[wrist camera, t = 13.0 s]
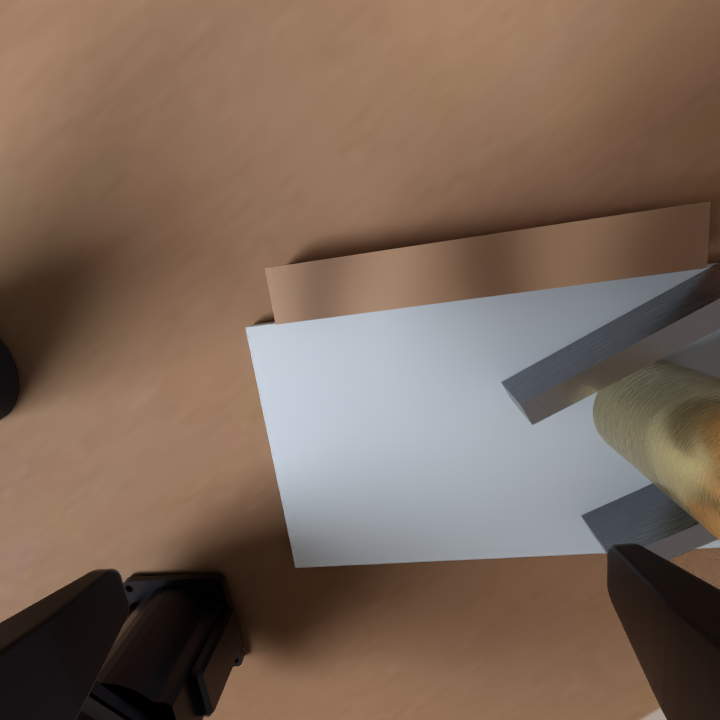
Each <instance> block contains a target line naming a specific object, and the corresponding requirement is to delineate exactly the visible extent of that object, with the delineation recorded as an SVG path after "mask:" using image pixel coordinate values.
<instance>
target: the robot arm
mask: <svg viewBox="0 0 720 720" xmlns="http://www.w3.org/2000/svg"><path fill="white" fill-rule="evenodd" d="M216 582H217V583H216ZM607 587H608V592H609V596H610V599H611V601H612V604H613V606H614V608H615V610H616V612H617V615H618V617H619V619H620V621H621V623H622V625H623V628H624V630H625V632H626V634H627V636H628V639H629V641H630V643H631V645H632V647H633V649H634V652H635V654H636V656H637V658H638V660H639V662H640V665H641V667H642V669H643V671H644V673H645V675H646V678H647V680H648V682H649V684H650V686H651V688H652V691H653V693H654V695H655V697H656V699H657V701H658V703H659V705H660V707H661V709H662V711H663V713H664V715H665V717H666V718H667V720H720V590H719V589H717V588H716V587H714V586H712V585H710V584H709V583H707V582H705V581H703V580H702V579H700V578H698V577H696V576H694V575H693V574H691V573H689V572H687V571H686V570H684V569H682V568H680V567H679V566H677V565H675V564H673V563H671V562H670V561H668V560H666V559H664V558H663V557H661V556H659V555H657V554H655V553H654V552H652V551H650V550H648V549H647V548H645V547H643V546H641V545H639V544H637V543H617V544H611V545H610V546H609V547H608V551H607ZM242 643H243V641H242V637H241V633H240V629H239V625H238V621H237V617H236V613H235V610H234V608H233V606H232V602H231V599H230V595H229V591H228V587H227V583H226V579H225V577H224V576H223V575H222V574H220V573H199V574H178V575H157V576H136V577H129V578H127V579H126V581H125V582H124V583H123V581H122V578H121V575H120V573H119V572H118V571H117V570H116V569H98V570H94V571H91V572H89V573H88V574H86V575H84V576H82V577H81V578H79V579H77V580H75V581H74V582H72V583H70V584H68V585H66V586H65V587H63V588H61V589H59V590H58V591H56V592H54V593H52V594H51V595H49V596H47V597H45V598H44V599H42V600H40V601H38V602H36V603H35V604H33V605H31V606H29V607H28V608H26V609H24V610H22V611H21V612H19V613H17V614H15V615H14V616H12V617H10V618H8V619H7V620H5V621H3V622H1V623H0V720H203V718H204V717H209V716H211V714H212V713H213V712H214V710H215V708H216V706H217V703H218V701H219V698H220V696H221V694H222V691H223V689H224V686H225V684H226V682H227V679H228V677H229V674H230V672H231V670H232V667H233V666H239V665H241V663H242V661H243V659H244V656H245V653H244V649H243V645H242Z"/></svg>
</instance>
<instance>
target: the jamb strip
mask: <svg viewBox="0 0 720 720" xmlns="http://www.w3.org/2000/svg"><path fill="white" fill-rule="evenodd" d="M710 206H711V201H707V202H701V203H694V204H687V205H681V206H674V207H668V208H661V209H654V210H648V211H641V212H635V213H628V214H621V215H615V216H608V217H601V218H595V219H588V220H582V221H575V222H568V223H562V224H555V225H548V226H542V227H535V228H529V229H522V230H515V231H509V232H502V233H496V234H489V235H482V236H476V237H469V238H462V239H456V240H449V241H443V242H436V243H429V244H423V245H416V246H409V247H403V248H396V249H390V250H383V251H376V252H370V253H363V254H357V255H350V256H343V257H337V258H330V259H323V260H317V261H310V262H304V263H297V264H290V265H284V266H277V267H270V268H265V272H266V277H267V282H268V288H269V293H270V298H271V303H272V309H273V314H274V319H275V324H276V325H277V324H285V323H293V322H300V321H308V320H316V319H323V318H331V317H338V316H346V315H354V314H361V313H369V312H376V311H384V310H392V309H399V308H407V307H415V306H422V305H430V304H437V303H445V302H453V301H460V300H468V299H475V298H483V297H491V296H498V295H506V294H514V293H521V292H529V291H536V290H544V289H552V288H559V287H567V286H575V285H582V284H590V283H597V282H605V281H613V280H620V279H628V278H635V277H643V276H651V275H658V274H666V273H674V272H681V271H689V270H696V269H704V268H707V263H708V244H709V225H710Z"/></svg>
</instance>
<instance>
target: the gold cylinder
mask: <svg viewBox="0 0 720 720" xmlns="http://www.w3.org/2000/svg"><path fill="white" fill-rule="evenodd" d="M593 421H594V424H595V428H596V430H597V432H598V434H599V435H600V437H601V438H602V439H603V440H604V441H605V442H606V443H607V444H608V445H609V446H610V447H612V448H613V449H614V450H615V451H616V452H617V453H618V454H620V455H621V456H622V457H623V458H624V459H625V460H627V461H628V462H629V463H630V464H631V465H632V466H634V467H635V468H636V469H637V470H638V471H639V472H641V473H642V474H643V475H644V476H645V477H646V478H648V479H649V480H650V481H651V482H652V483H653V484H654V485H656V486H657V487H658V488H659V489H660V490H661V491H663V492H664V493H665V494H666V495H667V496H668V497H670V498H671V499H672V500H673V501H674V502H675V503H677V504H678V505H679V506H680V507H681V508H682V509H684V510H685V511H686V512H687V513H688V514H689V515H690V516H692V517H693V518H694V519H695V520H696V521H697V522H699V523H700V524H701V525H702V526H703V527H704V528H706V529H707V530H708V531H709V532H710V533H711V534H713V535H714V536H715V537H716V538H717V539H718V540H719V541H720V378H717V377H714V376H712V375H709V374H706V373H703V372H700V371H697V370H694V369H691V368H688V367H686V366H683V365H680V364H677V363H674V362H671V361H667V360H661V359H660V360H658V361H656V362H654V363H652V364H650V365H648V366H646V367H644V368H643V369H641V370H639V371H637V372H635V373H633V374H631V375H629V376H627V377H625V378H623V379H621V380H619V381H617V382H615V383H613V384H612V385H610V386H608V387H606V388H604V389H602V390H600V391H598V393H597V395H596V398H595V401H594V405H593Z"/></svg>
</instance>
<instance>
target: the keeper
mask: <svg viewBox="0 0 720 720" xmlns="http://www.w3.org/2000/svg"><path fill="white" fill-rule="evenodd" d="M718 329H720V262H718V263H717V264H715V265H713V266H711V267H709V268H707V269H706V270H704V271H702V272H700V273H698V274H697V275H695V276H693V277H691V278H689V279H687V280H686V281H684V282H682V283H680V284H678V285H677V286H675V287H673V288H671V289H669V290H667V291H666V292H664V293H662V294H660V295H658V296H657V297H655V298H653V299H651V300H649V301H647V302H646V303H644V304H642V305H640V306H638V307H637V308H635V309H633V310H631V311H629V312H628V313H626V314H624V315H622V316H620V317H618V318H617V319H615V320H613V321H611V322H609V323H608V324H606V325H604V326H602V327H600V328H598V329H597V330H595V331H593V332H591V333H589V334H588V335H586V336H584V337H582V338H580V339H578V340H577V341H575V342H573V343H571V344H569V345H568V346H566V347H564V348H562V349H560V350H558V351H557V352H555V353H553V354H551V355H549V356H548V357H546V358H544V359H542V360H540V361H538V362H537V363H535V364H533V365H531V366H529V367H528V368H526V369H524V370H522V371H520V372H518V373H517V374H515V375H513V376H511V377H509V378H508V379H506V380H504V381H502V382H501V383H502V385H503V387H504V388H505V390H506V392H507V393H508V395H509V397H510V398H511V400H512V401H513V402H514V403H515V405H516V406H517V407H518V408H519V410H520V411H521V412H522V413H523V414H524V416H525V417H526V418H527V419H528V420H529V422H530V423H531V424H532V425H534V424H536V423H538V422H540V421H542V420H544V419H546V418H547V417H549V416H551V415H553V414H555V413H557V412H559V411H561V410H563V409H565V408H567V407H569V406H571V405H573V404H575V403H577V402H579V401H580V400H582V399H584V398H586V397H588V396H590V395H592V394H594V393H596V392H598V391H600V390H602V389H604V388H606V387H608V386H610V385H612V384H613V383H615V382H617V381H619V380H621V379H623V378H625V377H627V376H629V375H631V374H633V373H635V372H637V371H639V370H641V369H643V368H644V367H646V366H648V365H650V364H652V363H654V362H656V361H658V360H660V359H662V358H664V357H666V356H668V355H670V354H672V353H674V352H676V351H677V350H679V349H681V348H683V347H685V346H687V345H689V344H691V343H693V342H695V341H697V340H699V339H701V338H703V337H705V336H707V335H709V334H710V333H712V332H714V331H716V330H718ZM581 516H582V518H583V520H584V521H585V523H586V525H587V526H588V528H589V530H590V531H591V533H592V534H593V535H594V537H595V538H596V540H597V541H598V542H599V544H600V545H601V547H602V548H603V549H604V551H605V552H606V554H607V551H608V547H609V546H610V545H611V544H617V543H637V544H639V545H641V546H643V547H645V548H647V549H648V550H650V551H652V552H654V553H655V554H657V555H659V556H661V557H663V558H664V559H666V560H669V559H671V558H674V557H676V556H679V555H681V554H684V553H686V552H689V551H691V550H693V549H696V548H698V547H701V546H703V545H706V544H708V543H711V542H713V541H716V540H718V539H717V538H716V537H715V536H714V535H713V534H711V533H710V532H709V531H708V530H707V529H706V528H704V527H703V526H702V525H701V524H700V523H699V522H697V521H696V520H695V519H694V518H693V517H692V516H690V515H689V514H688V513H687V512H686V511H685V510H684V509H682V508H681V507H680V506H679V505H678V504H677V503H675V502H674V501H673V500H672V499H671V498H670V497H668V496H667V495H666V494H665V493H664V492H663V491H661V490H660V489H659V488H658V487H657V486H656V485H654V484H653V483H652V484H650V485H648V486H645V487H643V488H641V489H639V490H637V491H634V492H632V493H630V494H628V495H625V496H623V497H621V498H619V499H617V500H614V501H612V502H610V503H608V504H605V505H603V506H601V507H599V508H597V509H594V510H592V511H590V512H588V513H585V514H583V515H581Z"/></svg>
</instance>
